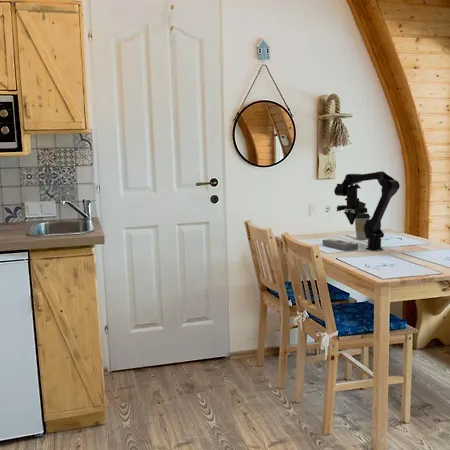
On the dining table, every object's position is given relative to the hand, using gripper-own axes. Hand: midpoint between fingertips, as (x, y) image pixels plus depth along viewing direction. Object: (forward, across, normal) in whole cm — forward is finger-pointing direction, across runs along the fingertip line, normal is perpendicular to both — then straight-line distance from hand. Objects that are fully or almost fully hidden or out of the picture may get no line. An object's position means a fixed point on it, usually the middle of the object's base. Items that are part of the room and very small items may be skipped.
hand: (351, 224), depth 289 cm
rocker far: (+8, +4, +9) cm, 13 cm away
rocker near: (+9, -6, +9) cm, 14 cm away
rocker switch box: (+12, -1, +9) cm, 15 cm away
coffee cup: (+12, +12, -19) cm, 26 cm away
